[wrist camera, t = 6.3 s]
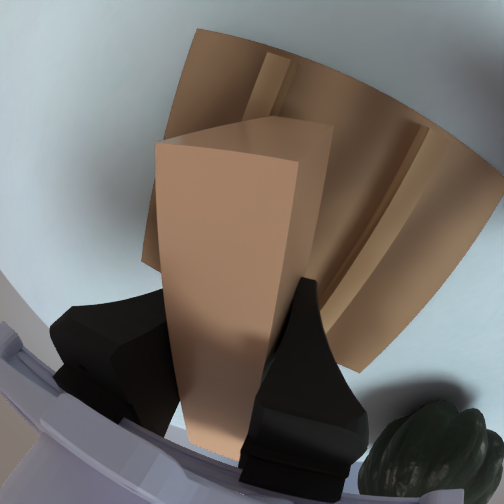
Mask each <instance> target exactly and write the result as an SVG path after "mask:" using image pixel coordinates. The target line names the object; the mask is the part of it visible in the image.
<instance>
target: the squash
mask: <svg viewBox="0 0 504 504" xmlns="http://www.w3.org/2000/svg"><path fill="white" fill-rule="evenodd" d="M503 459H504V442H503V440H502V438H501V437H500V436H499V435H498V434H497V433H496V432H494V431H492V430H488V429H486V424H485V419H484V416H483V414H482V413H481V412H480V411H479V410H478V409H475V408H472V409H466V410H464V411H462V412H460V413H459V414H458V411H457V409H456V407H455V406H454V405H453V404H452V403H450V402H447V401H435V402H432V403H429V404H427V405H425V406H423V407H422V408H420V409H419V410H418V411H417V412H416V413H414V414H411V415H409V416H406V417H404V418H401V419H398V420H395V421H393V422H391V423H390V424H389V425H388V426H387V427H386V428H385V430H384V431H383V432H382V433H381V435H380V436H379V437H378V438H377V440H376V441H375V443H374V445H373V447H372V448H371V450H370V452H369V455H368V456H367V457H366V459H365V461H364V462H363V464H362V466H361V468H360V470H359V474H358V489H359V493H360V495H369V496H381V497H403V498H421V497H422V496H423V495H425V494H427V493H429V492H432V491H436V490H451V489H463V490H464V502H463V504H487V503H488V501H489V500H490V498H491V497H492V495H493V494H494V492H495V491H496V489H497V487H498V485H499V483H500V480H501V476H502V471H503V467H502V462H503Z"/></svg>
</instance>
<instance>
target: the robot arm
mask: <svg viewBox="0 0 504 504" xmlns="http://www.w3.org/2000/svg"><path fill="white" fill-rule="evenodd" d="M317 285H318V283H317V281H316V280H313V279H309V278H305V277H301V278H300V280H299V283H298V285H297V288H296V290H295V295H294V299H293V304H292V308H291V313H290V317H289V321H288V326H287V328H286V331H285V333H284V336H283V338H282V341H281V343H280V346H279V348H278V350H277V353H276V355H275V357H274V359H273V362H272V364H271V366H270V368H269V370H268V372H267V375H266V377H265V379H264V381H263V383H262V385H261V387H260V388H259V390H258V392H257V394H256V396H255V400H254V405H253V410H252V415H251V420H250V425H249V430H248V434H247V436H246V438H245V441H244V443H243V445H242V448H241V450H240V453H241V454H240V459H239V464H238V468H237V467H234V466H231V465H228V464H225V463H222V462H220V461H217V460H214V459H211V458H209V457H206V456H204V455H201V454H199V453H196V452H194V451H192V450H189V449H187V448H185V447H182V446H180V445H178V444H175V443H173V442H171V441H169V440H167V439H165V438H164V436H165V434H166V431H167V429H168V426H169V424H170V422H171V419H172V417H173V415H174V413H175V410H176V408H177V406H178V404H179V402H180V397H179V392H178V386H177V381H176V376H175V370H174V364H173V358H172V352H171V346H170V339H169V332H168V325H167V318H166V310H165V302H164V294H163V288H162V289H159V290H156V291H154V292H151V293H148V294H145V295H141V296H137V297H133V298H129V299H126V300H121V301H116V302H110V303H104V304H97V305H85V306H72V307H71V308H70V309H69V310H67V311H66V312H65V313H64V314H63V315H62V316H61V317H60V318H59V319H57V320H56V321H55V322H54V323H53V324H52V325H51V326H50V337H51V339H52V342H53V344H54V346H55V348H56V350H57V352H58V354H59V356H60V357H61V359H62V361H63V363H64V365H63V366H62V367H61V368H60V369H59V370H58V371H57V372H55V371H54V370H52V369H51V368H50V367H49V366H47V365H46V364H45V363H43V362H42V361H41V360H40V359H38V358H37V357H36V356H35V355H34V354H33V353H31V352H30V351H29V350H28V349H27V348H26V347H24V346H23V343H22V341H21V339H20V337H19V336H18V334H17V333H16V332H15V331H14V330H13V329H12V328H11V327H10V326H9V325H8V324H7V323H6V322H5V321H2V322H1V323H0V393H1V394H2V395H3V396H4V398H5V399H6V400H7V401H8V402H9V403H10V404H11V405H12V406H13V407H14V408H15V410H16V411H17V412H18V413H19V414H20V415H21V416H22V417H23V418H24V419H25V420H26V421H27V422H28V423H29V424H30V425H31V426H32V427H33V428H35V429H36V430H37V431H38V432H39V433H40V434H41V436H40V437H39V438H38V440H37V441H36V442H35V443H34V445H33V446H32V447H31V449H30V450H29V451H28V452H27V453H26V455H25V456H24V457H23V459H22V460H21V461H20V463H19V464H18V465H17V466H16V468H15V469H14V470H13V472H12V473H11V474H10V475H9V477H8V478H7V480H6V481H5V482H4V484H3V485H2V486H1V488H0V504H463V502H464V490H463V489H451V490H436V491H432V492H429V493H427V494H425V495H423V496H422V497H421V498H403V497H381V496H369V495H359V494H350V493H343V492H342V491H343V487H344V483H345V478H347V477H348V476H349V472H350V467H351V465H352V464H353V463H354V462H355V461H356V460H358V459H359V458H360V457H361V456H362V455H363V454H364V453H365V452H366V450H367V446H368V440H369V430H368V418H367V413H366V411H365V410H364V408H363V407H362V406H361V404H360V403H359V402H358V400H357V399H356V397H355V396H354V394H353V393H352V391H351V389H350V388H349V386H348V384H347V383H346V381H345V379H344V377H343V375H342V373H341V371H340V369H339V367H338V365H337V363H336V361H335V359H334V356H333V354H332V351H331V349H330V346H329V343H328V340H327V337H326V334H325V331H324V327H323V323H322V319H321V314H320V309H319V304H318V295H317ZM232 490H233V491H232ZM235 491H236V492H235ZM237 492H239V493H237ZM240 493H242V494H245V495H242V494H240Z"/></svg>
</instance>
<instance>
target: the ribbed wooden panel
mask: <svg viewBox="0 0 504 504" xmlns="http://www.w3.org/2000/svg"><path fill="white" fill-rule="evenodd" d="M269 116H279V117H286V118H292V119H299V120H305V121H311V122H316V123H322V124H327V125H332V126H334V128H333V134H332V141H331V147H330V153H329V159H328V165H327V171H326V177H325V182H324V188H323V193H322V199H321V204H320V209H319V214H318V219H317V224H316V229H315V234H314V239H313V244H312V248H311V253H310V258H309V262H308V267H307V271H306V276H305V278H309V279H313V280H316V281H317V283H318V285H317V295H318V304H319V309H320V314H321V319H322V323H323V327H324V331H325V334H326V337H327V340H328V343H329V346H330V349H331V351H332V354H333V356H334V359H335V361H336V363H338V364H340V365H342V366H344V367H347V368H349V369H351V370H353V371H356V372H358V373H360V372H362V371H363V370H364V369H365V368H366V367H367V366H368V365H369V364H370V363H371V362H372V361H373V360H374V359H375V358H376V357H377V356H378V355H379V354H380V353H381V352H382V351H383V350H384V349H385V348H386V347H387V346H388V345H389V344H390V343H391V342H392V341H393V340H394V339H395V338H396V337H397V336H398V335H399V334H400V333H401V332H402V331H403V330H404V329H405V328H406V327H407V326H408V324H409V323H410V322H411V321H412V320H413V319H414V318H415V317H416V316H417V314H418V313H419V312H420V311H421V310H422V309H423V308H424V306H425V305H426V304H427V303H428V302H429V301H430V299H431V298H432V297H433V296H434V295H435V293H436V292H437V291H438V290H439V288H440V287H441V286H442V285H443V283H444V282H445V281H446V280H447V278H448V277H449V276H450V274H451V273H452V272H453V270H454V269H455V268H456V266H457V265H458V264H459V262H460V261H461V260H462V258H463V257H464V256H465V254H466V253H467V251H468V250H469V248H470V247H471V246H472V244H473V243H474V241H475V240H476V238H477V237H478V235H479V234H480V232H481V231H482V229H483V228H484V226H485V224H486V223H487V221H488V220H489V218H490V216H491V215H492V213H493V211H494V210H495V208H496V206H497V205H498V203H499V201H500V200H501V198H502V196H503V194H504V176H503V175H502V174H501V173H499V172H498V171H497V170H496V169H495V168H494V167H492V166H491V165H490V164H489V163H488V162H486V161H485V160H484V159H483V158H482V157H480V156H479V155H478V154H477V153H475V152H474V151H473V150H471V149H470V148H469V147H467V146H466V145H465V144H463V143H462V142H461V141H459V140H458V139H457V138H455V137H454V136H452V135H451V134H450V133H448V132H447V131H445V130H444V129H442V128H441V127H439V126H438V125H436V124H435V123H433V122H432V121H430V120H429V119H427V118H426V117H424V116H422V115H421V114H419V113H418V112H416V111H414V110H413V109H411V108H409V107H408V106H406V105H404V104H402V103H401V102H399V101H397V100H395V99H393V98H392V97H390V96H388V95H386V94H384V93H382V92H380V91H379V90H377V89H375V88H373V87H371V86H369V85H367V84H365V83H363V82H361V81H358V80H356V79H354V78H352V77H350V76H348V75H345V74H343V73H341V72H339V71H336V70H334V69H332V68H329V67H327V66H324V65H322V64H319V63H317V62H314V61H312V60H309V59H306V58H304V57H301V56H298V55H295V54H293V53H290V52H287V51H284V50H281V49H278V48H274V47H271V46H268V45H265V44H261V43H258V42H254V41H251V40H247V39H243V38H239V37H235V36H231V35H227V34H222V33H218V32H213V31H208V30H203V29H198V28H197V30H196V33H195V36H194V39H193V41H192V44H191V47H190V50H189V53H188V56H187V59H186V62H185V65H184V68H183V71H182V74H181V78H180V81H179V84H178V88H177V91H176V94H175V98H174V101H173V105H172V109H171V112H170V116H169V120H168V124H167V128H166V131H165V136H164V140H167V139H170V138H174V137H178V136H181V135H185V134H189V133H193V132H197V131H201V130H205V129H209V128H214V127H218V126H223V125H227V124H232V123H237V122H242V121H247V120H252V119H258V118H263V117H269ZM141 261H142V262H143V263H145V264H147V265H148V266H150V267H152V268H153V269H155V270H157V271H159V272H160V273H161V264H160V253H159V240H158V225H157V207H156V181H155V180H154V185H153V191H152V196H151V201H150V207H149V213H148V219H147V225H146V231H145V238H144V245H143V252H142V259H141Z"/></svg>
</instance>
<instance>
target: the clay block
mask: <svg viewBox="0 0 504 504" xmlns="http://www.w3.org/2000/svg"><path fill="white" fill-rule="evenodd" d="M333 128H334V126H332V125H327V124H322V123H316V122H311V121H305V120H299V119H292V118H286V117H279V116H269V117H263V118H258V119H252V120H247V121H242V122H237V123H232V124H227V125H223V126H218V127H214V128H209V129H205V130H201V131H197V132H193V133H189V134H185V135H181V136H178V137H174V138H170V139H167V140H163V141H160V142H156V143H155V181H156V207H157V225H158V240H159V253H160V264H161V275H162V285H163V294H164V302H165V310H166V318H167V325H168V332H169V339H170V346H171V352H172V358H173V364H174V370H175V376H176V381H177V386H178V392H179V397H180V402H181V407H182V411H183V416H184V421H185V425H186V429H187V433H188V438H189V442H190V443H192V444H194V445H196V446H199V447H201V448H204V449H206V450H209V451H211V452H214V453H217V454H220V455H222V456H225V457H228V458H231V459H234V460H236V461H239V459H240V454H241V453H240V450H241V448H242V445H243V443H244V441H245V438H246V436H247V434H248V430H249V425H250V420H251V415H252V410H253V405H254V400H255V396H256V394H257V392H258V390H259V388H260V387H261V385H262V383H263V381H264V379H265V377H266V375H267V372H268V370H269V368H270V366H271V364H272V362H273V359H274V357H275V355H276V353H277V350H278V348H279V346H280V343H281V341H282V338H283V336H284V333H285V331H286V328H287V326H288V321H289V317H290V313H291V308H292V304H293V299H294V295H295V290H296V288H297V285H298V283H299V280H300V278H301V277H305V276H306V271H307V267H308V262H309V258H310V253H311V248H312V244H313V239H314V234H315V229H316V224H317V219H318V214H319V209H320V204H321V199H322V193H323V188H324V182H325V177H326V171H327V165H328V159H329V153H330V147H331V141H332V134H333Z"/></svg>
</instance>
